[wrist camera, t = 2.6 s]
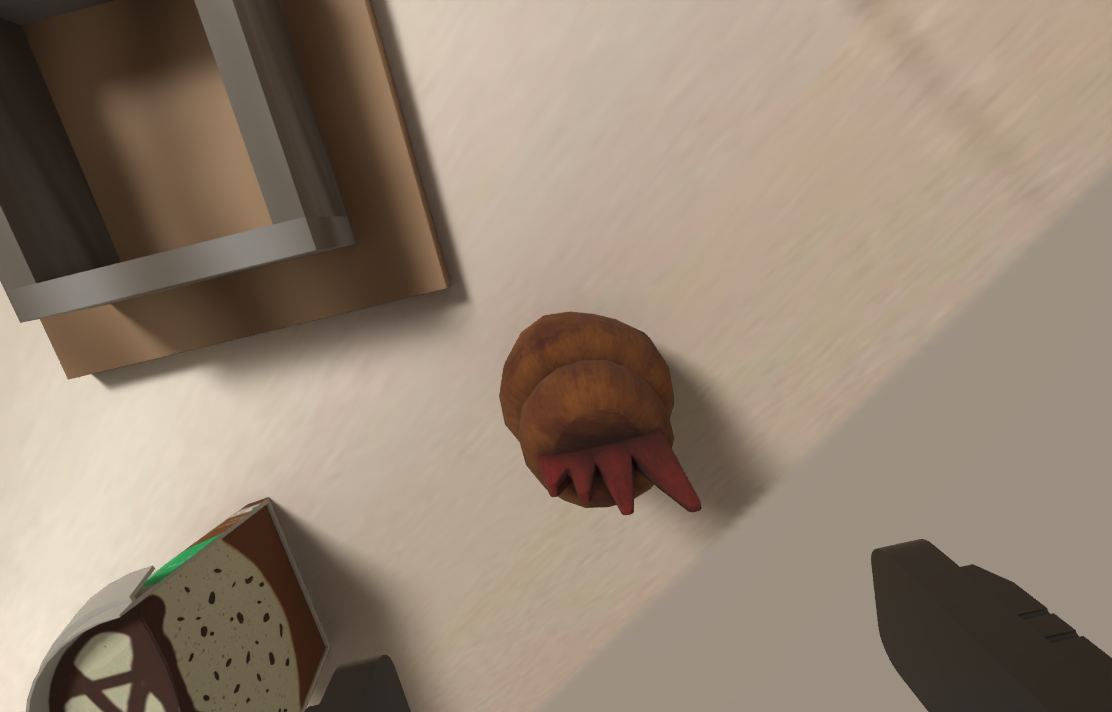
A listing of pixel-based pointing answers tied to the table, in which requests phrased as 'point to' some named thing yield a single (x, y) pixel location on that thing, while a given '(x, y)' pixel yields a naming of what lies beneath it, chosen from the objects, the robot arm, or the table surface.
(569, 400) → the wooden figurine
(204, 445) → the table surface
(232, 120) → the collar board
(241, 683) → the food container
